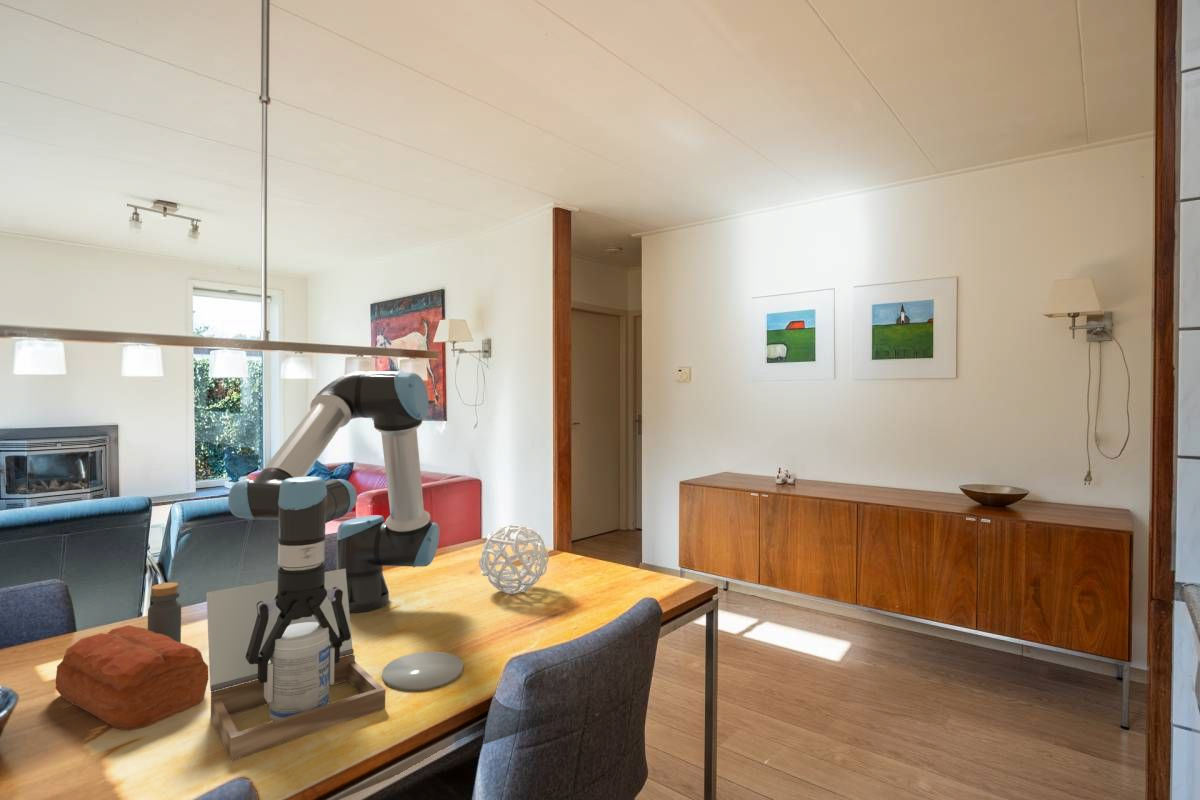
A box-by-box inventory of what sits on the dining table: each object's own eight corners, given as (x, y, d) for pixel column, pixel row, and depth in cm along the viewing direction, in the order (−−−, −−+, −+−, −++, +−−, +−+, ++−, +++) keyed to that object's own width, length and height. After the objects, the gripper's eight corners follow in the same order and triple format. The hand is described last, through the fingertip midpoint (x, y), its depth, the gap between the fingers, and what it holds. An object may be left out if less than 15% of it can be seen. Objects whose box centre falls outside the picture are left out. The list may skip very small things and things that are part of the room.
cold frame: (210, 717, 106) (210, 692, 106) (352, 676, 122) (352, 654, 122) (230, 760, 94) (230, 731, 94) (385, 708, 110) (385, 683, 110)
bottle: (144, 662, 127) (145, 591, 126) (150, 651, 132) (151, 583, 132) (178, 657, 129) (179, 587, 129) (182, 647, 134) (183, 579, 134)
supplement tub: (333, 718, 106) (334, 634, 106) (271, 733, 101) (273, 646, 101) (323, 694, 114) (324, 617, 114) (266, 708, 109) (267, 627, 109)
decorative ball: (560, 595, 174) (561, 529, 174) (496, 608, 163) (497, 537, 162) (528, 577, 190) (529, 516, 190) (468, 587, 179) (469, 523, 179)
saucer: (369, 669, 125) (369, 665, 125) (440, 649, 136) (440, 645, 136) (402, 699, 113) (402, 695, 113) (477, 674, 124) (477, 670, 124)
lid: (211, 691, 105) (209, 690, 107) (353, 653, 122) (349, 653, 123) (207, 592, 109) (205, 592, 111) (346, 568, 125) (342, 569, 127)
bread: (119, 739, 99) (120, 674, 99) (47, 697, 112) (48, 640, 112) (217, 698, 113) (218, 641, 113) (143, 665, 126) (143, 614, 126)
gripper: (235, 581, 97) (233, 720, 98) (371, 558, 112) (369, 679, 112) (225, 571, 103) (223, 702, 103) (356, 550, 118) (354, 665, 118)
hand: (299, 690), depth 108 cm, fingers closed on supplement tub, 9 cm apart
